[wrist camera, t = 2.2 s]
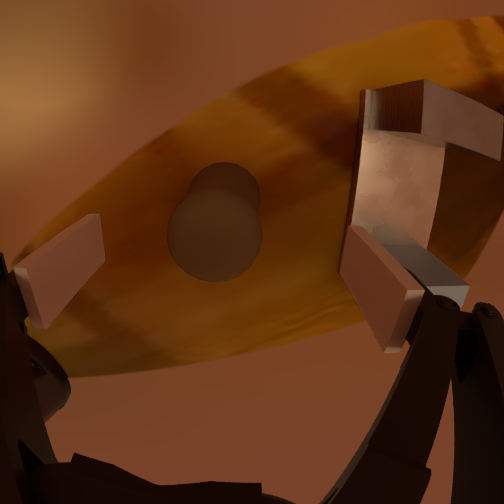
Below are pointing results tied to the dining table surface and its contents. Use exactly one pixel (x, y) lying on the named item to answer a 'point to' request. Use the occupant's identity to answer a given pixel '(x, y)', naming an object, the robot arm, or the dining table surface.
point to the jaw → (430, 271)
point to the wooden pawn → (217, 224)
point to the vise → (412, 156)
